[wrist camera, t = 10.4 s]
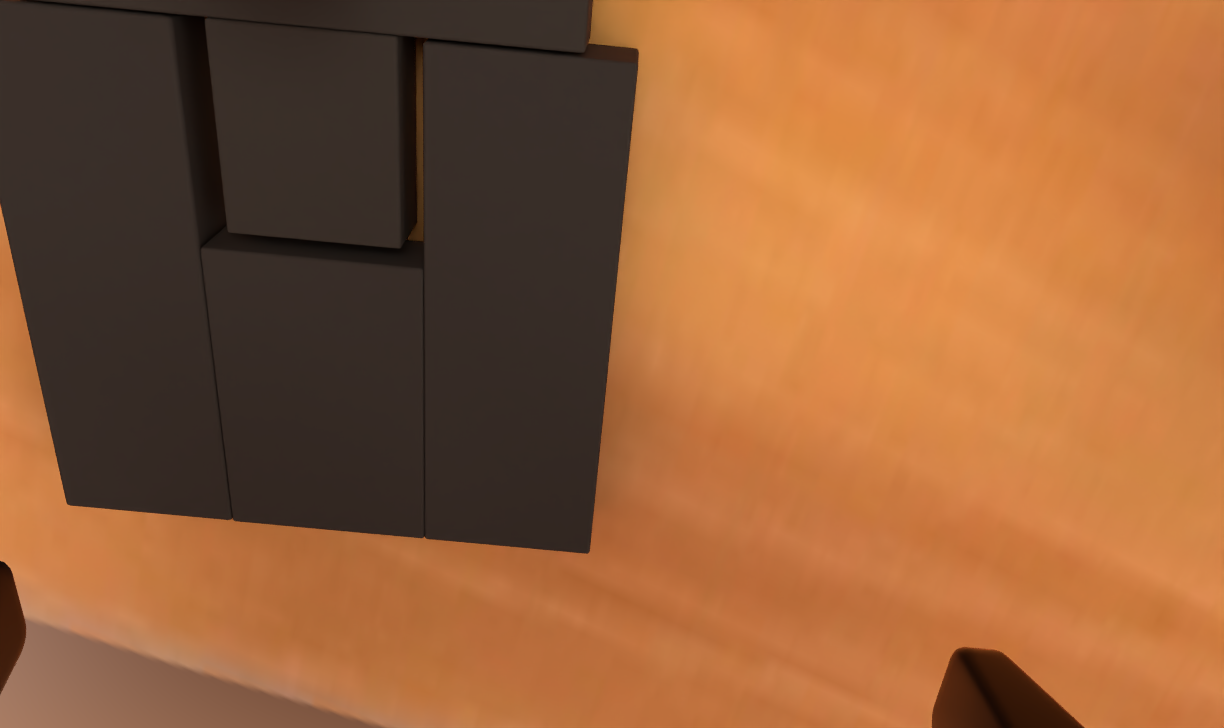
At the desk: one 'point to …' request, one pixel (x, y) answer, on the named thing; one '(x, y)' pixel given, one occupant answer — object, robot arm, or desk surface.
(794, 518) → the desk surface
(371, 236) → the dark grey flat block
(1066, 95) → the desk surface
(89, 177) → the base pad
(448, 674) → the desk surface
